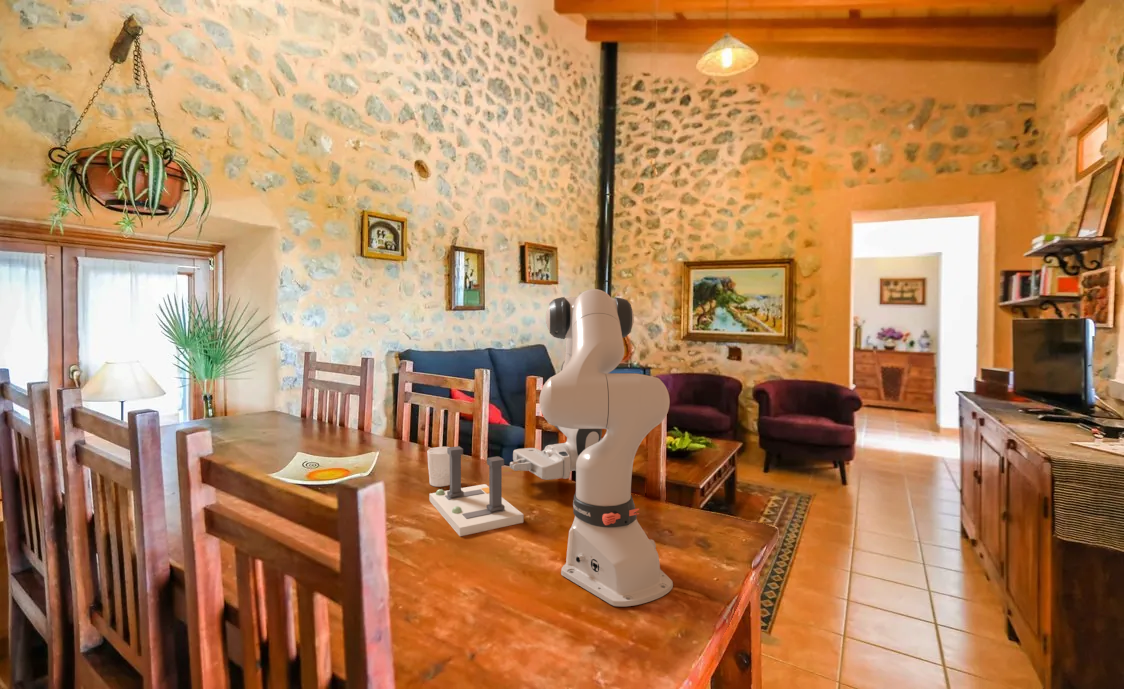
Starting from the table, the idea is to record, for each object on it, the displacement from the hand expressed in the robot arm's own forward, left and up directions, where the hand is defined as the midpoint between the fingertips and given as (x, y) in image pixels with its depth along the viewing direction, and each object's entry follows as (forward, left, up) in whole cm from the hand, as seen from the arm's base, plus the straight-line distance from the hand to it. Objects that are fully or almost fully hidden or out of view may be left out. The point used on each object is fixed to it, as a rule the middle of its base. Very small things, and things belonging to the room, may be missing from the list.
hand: (511, 466), depth 144 cm
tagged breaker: (0, +16, -5) cm, 17 cm away
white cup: (+18, +15, -8) cm, 25 cm away
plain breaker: (-14, +11, -5) cm, 19 cm away
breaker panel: (-7, +14, -8) cm, 17 cm away
